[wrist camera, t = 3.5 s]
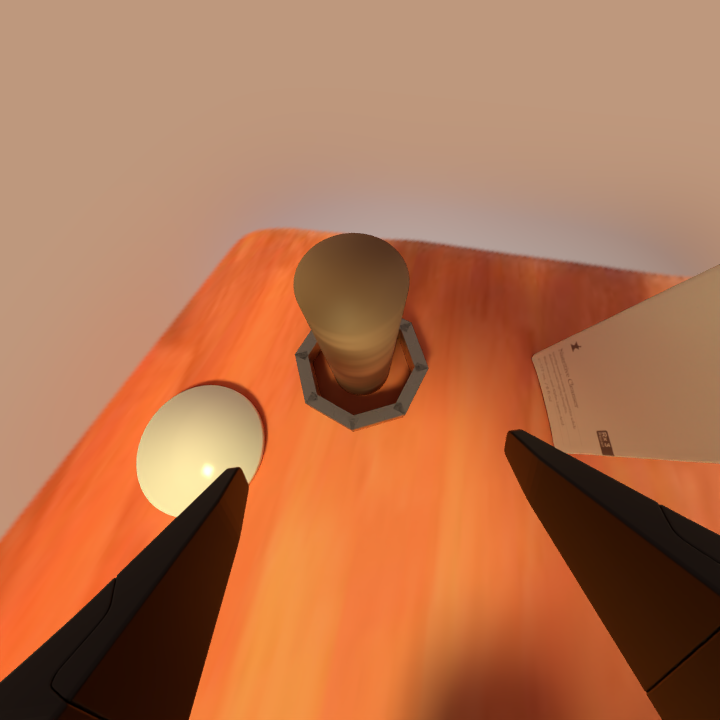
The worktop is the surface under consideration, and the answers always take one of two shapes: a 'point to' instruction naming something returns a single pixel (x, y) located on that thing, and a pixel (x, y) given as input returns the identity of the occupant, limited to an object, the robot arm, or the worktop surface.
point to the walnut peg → (354, 306)
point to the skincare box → (641, 379)
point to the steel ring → (373, 417)
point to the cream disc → (197, 445)
